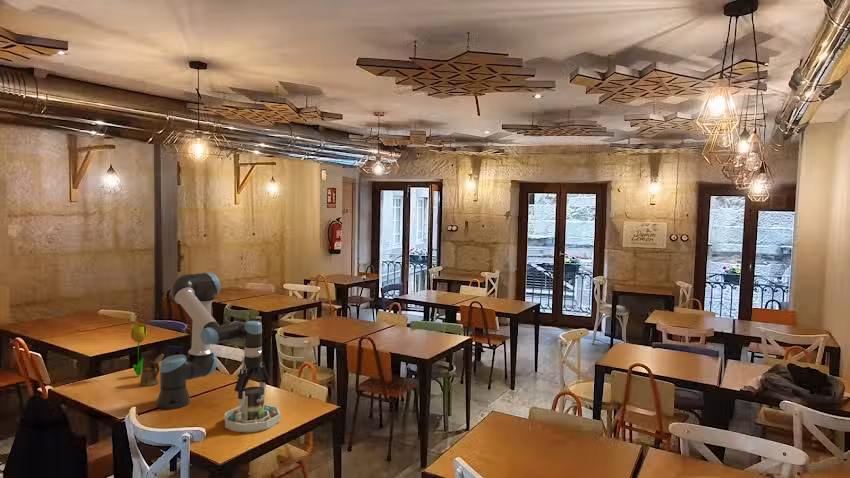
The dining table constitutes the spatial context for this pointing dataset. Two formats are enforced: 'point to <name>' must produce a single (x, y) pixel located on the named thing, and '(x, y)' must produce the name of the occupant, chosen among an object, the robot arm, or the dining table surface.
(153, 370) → the wooden mug
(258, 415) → the coffee can
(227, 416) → the tray
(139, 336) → the flower
